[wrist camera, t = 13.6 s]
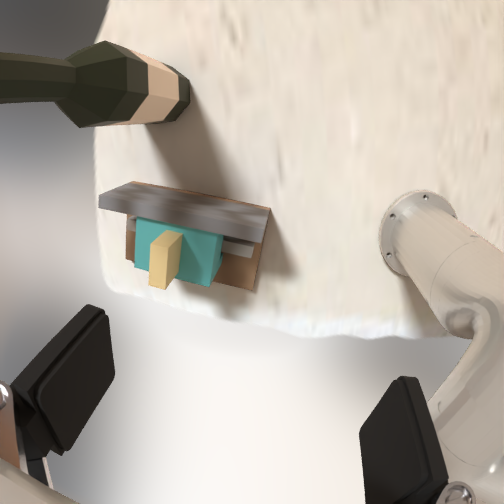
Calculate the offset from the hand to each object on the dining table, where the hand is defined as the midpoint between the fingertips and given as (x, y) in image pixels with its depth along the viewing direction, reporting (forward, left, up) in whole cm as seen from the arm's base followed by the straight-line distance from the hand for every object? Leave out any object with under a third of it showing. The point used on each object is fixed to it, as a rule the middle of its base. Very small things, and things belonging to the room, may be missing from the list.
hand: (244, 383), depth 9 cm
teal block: (+8, +11, -32) cm, 35 cm away
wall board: (+8, +12, -33) cm, 36 cm away
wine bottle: (+20, -4, -34) cm, 39 cm away
